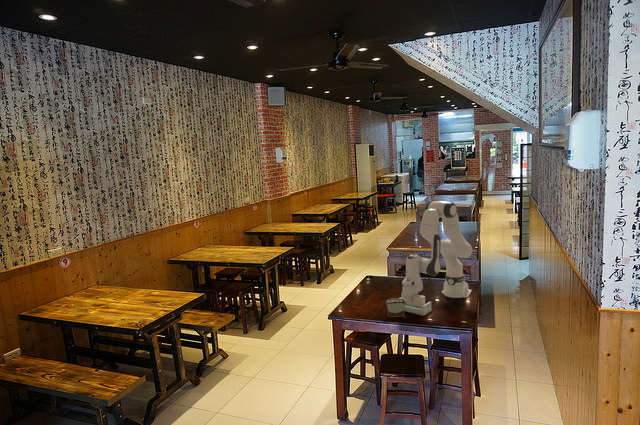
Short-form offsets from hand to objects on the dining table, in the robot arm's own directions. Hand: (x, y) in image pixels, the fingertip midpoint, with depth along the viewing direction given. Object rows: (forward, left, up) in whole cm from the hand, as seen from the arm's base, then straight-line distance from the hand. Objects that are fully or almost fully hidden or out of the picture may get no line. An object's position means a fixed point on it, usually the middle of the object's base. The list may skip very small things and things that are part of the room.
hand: (413, 300), depth 275 cm
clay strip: (0, 0, -2) cm, 2 cm away
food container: (+14, -5, -7) cm, 16 cm away
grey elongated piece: (0, 0, -6) cm, 6 cm away
